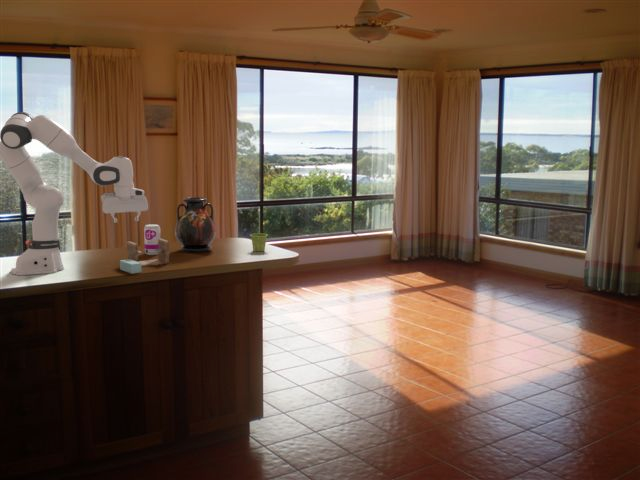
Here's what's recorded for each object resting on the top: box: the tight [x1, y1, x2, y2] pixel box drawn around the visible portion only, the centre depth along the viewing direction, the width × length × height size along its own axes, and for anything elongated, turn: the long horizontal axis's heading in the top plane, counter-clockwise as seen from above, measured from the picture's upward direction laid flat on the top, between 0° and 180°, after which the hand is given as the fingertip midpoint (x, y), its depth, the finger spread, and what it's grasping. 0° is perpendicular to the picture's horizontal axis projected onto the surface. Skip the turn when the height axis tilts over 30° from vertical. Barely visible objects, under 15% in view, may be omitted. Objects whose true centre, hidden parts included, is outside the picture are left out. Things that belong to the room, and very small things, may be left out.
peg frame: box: [126, 238, 170, 268], centre depth 333 cm, size 17×9×11 cm, turn 126°
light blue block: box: [119, 258, 143, 274], centre depth 317 cm, size 5×12×4 cm, turn 40°
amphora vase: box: [174, 196, 217, 254], centre depth 369 cm, size 22×22×28 cm
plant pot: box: [249, 233, 268, 252], centre depth 371 cm, size 9×9×9 cm
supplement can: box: [143, 223, 162, 256], centre depth 359 cm, size 8×8×15 cm
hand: (126, 221), depth 318 cm, fingers open, 8 cm apart
